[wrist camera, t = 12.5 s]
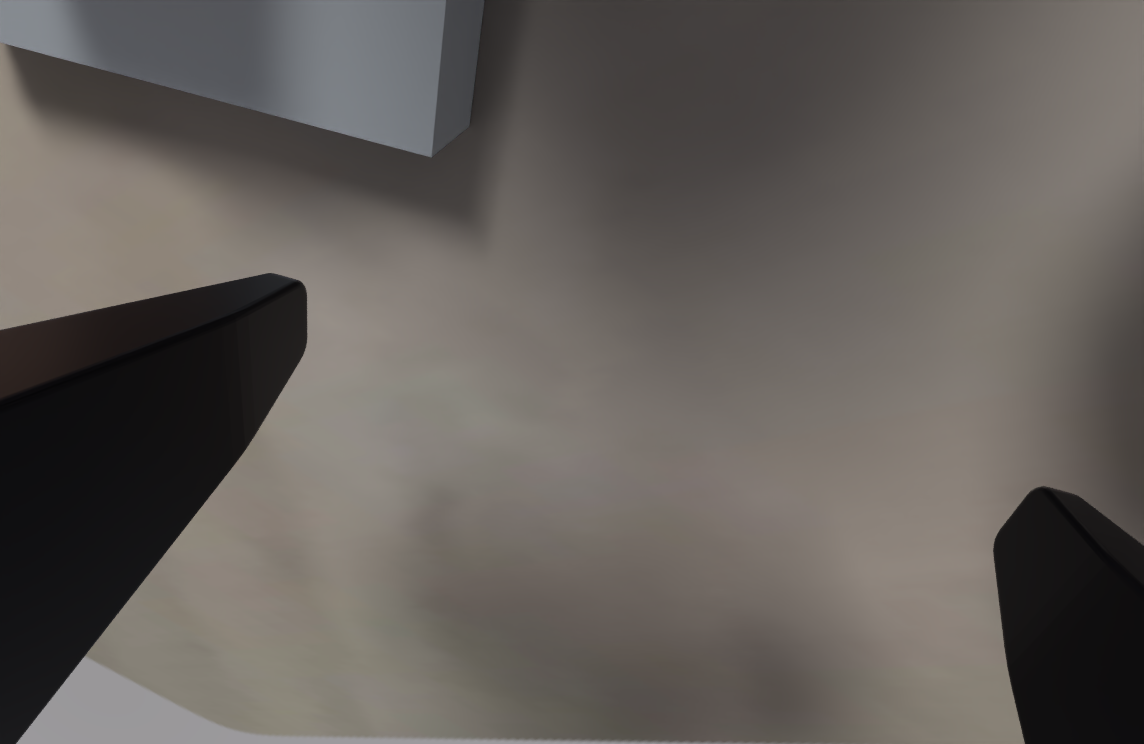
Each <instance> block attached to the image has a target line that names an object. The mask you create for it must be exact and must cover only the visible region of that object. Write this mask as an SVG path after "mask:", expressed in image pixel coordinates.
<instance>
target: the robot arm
mask: <svg viewBox="0 0 1144 744" xmlns="http://www.w3.org/2000/svg"><path fill="white" fill-rule="evenodd" d="M306 344H307V292H306V288H305V286H304V285H303V283H302V282H301V281H299V280H296V279H292V278H289V277H285V276H281V275H278V274H273V273H267V274H262V275H258V276H253V277H248V278H244V279H239V280H234V281H229V282H225V283H220V284H215V285H211V286H206V287H201V288H196V289H192V290H187V291H182V292H178V293H173V294H168V295H163V296H159V297H154V298H149V299H145V300H140V301H135V302H130V303H126V304H121V305H116V306H111V307H107V308H102V309H97V310H93V311H88V312H83V313H78V314H74V315H69V316H64V317H60V318H55V319H50V320H45V321H41V322H36V323H31V324H27V325H22V326H17V327H12V328H8V329H3V330H0V744H16V743H17V742H18V740H19V739H20V738H21V737H22V735H23V734H24V733H25V732H26V730H27V729H28V728H29V726H30V725H31V724H32V723H33V721H34V720H35V719H36V718H37V716H38V715H39V714H40V712H41V711H42V710H43V709H44V707H45V706H46V705H47V703H48V702H49V701H50V700H51V698H52V697H53V696H54V695H55V693H56V692H57V691H58V689H59V688H60V687H61V685H62V684H63V683H64V682H65V680H66V679H67V678H68V677H69V675H70V674H71V673H72V672H73V670H74V669H75V668H76V666H77V665H78V664H79V662H80V661H81V660H82V659H83V657H84V656H85V655H86V654H87V652H88V651H89V650H90V649H91V647H92V646H93V645H94V643H95V642H96V641H97V640H98V638H99V637H100V636H101V635H102V633H103V632H104V631H105V629H106V628H107V627H108V626H109V624H110V623H111V622H112V620H113V619H114V618H115V617H116V615H117V614H118V613H119V612H120V610H121V609H122V608H123V606H124V605H125V604H126V603H127V601H128V600H129V599H130V597H131V596H132V595H133V594H134V592H135V591H136V590H137V589H138V587H139V586H140V585H141V583H142V582H143V581H144V580H145V578H146V577H147V576H148V574H149V573H150V572H151V571H152V569H153V568H154V567H155V566H156V564H157V563H158V562H159V560H160V559H161V558H162V557H163V555H164V554H165V553H166V552H167V550H168V549H169V548H170V546H171V545H172V544H173V543H174V541H175V540H176V539H177V537H178V536H179V535H180V534H181V532H182V531H183V530H184V529H185V527H186V526H187V525H188V523H189V522H190V521H191V520H192V518H193V517H194V516H195V514H196V513H197V512H198V511H199V509H200V508H201V507H202V506H203V504H204V503H205V502H206V500H207V499H208V498H209V497H210V495H211V494H212V493H213V491H214V490H215V489H216V488H217V486H218V485H219V484H220V483H221V481H222V480H223V479H224V477H225V476H226V475H227V474H228V472H229V471H230V470H231V469H232V467H233V466H234V465H235V463H236V462H237V461H238V459H239V458H240V457H241V455H242V454H243V453H244V451H245V450H246V448H247V447H248V445H249V444H250V442H251V441H252V439H253V438H254V436H255V434H256V433H257V431H258V430H259V428H260V426H261V425H262V423H263V421H264V420H265V418H266V416H267V415H268V413H269V411H270V410H271V408H272V406H273V405H274V403H275V401H276V400H277V398H278V396H279V395H280V393H281V391H282V390H283V388H284V387H285V385H286V383H287V382H288V380H289V378H290V377H291V375H292V373H293V372H294V370H295V368H296V367H297V365H298V363H299V362H300V360H301V358H302V356H303V354H304V352H305V348H306ZM993 554H994V563H995V571H996V579H997V588H998V596H999V605H1000V613H1001V621H1002V630H1003V638H1004V647H1005V654H1006V660H1007V667H1008V672H1009V677H1010V682H1011V686H1012V691H1013V695H1014V700H1015V704H1016V708H1017V712H1018V717H1019V721H1020V725H1021V729H1022V734H1023V738H1024V742H1025V744H1144V546H1143V545H1142V544H1141V543H1139V542H1138V541H1137V540H1135V539H1134V538H1133V537H1132V536H1130V535H1129V534H1128V533H1126V532H1125V531H1124V530H1122V529H1121V528H1120V527H1119V526H1117V525H1116V524H1115V523H1113V522H1112V521H1111V520H1109V519H1108V518H1107V517H1105V516H1104V515H1103V514H1102V513H1100V512H1099V511H1098V510H1096V509H1095V508H1094V507H1092V506H1091V505H1090V504H1089V503H1087V502H1086V501H1085V500H1083V499H1082V498H1080V497H1079V496H1077V495H1074V494H1072V493H1068V492H1064V491H1061V490H1057V489H1053V488H1050V487H1045V486H1042V487H1037V488H1035V489H1033V490H1032V491H1030V493H1029V494H1028V495H1027V496H1026V497H1025V498H1024V500H1023V501H1022V502H1021V504H1020V505H1019V506H1018V507H1017V509H1016V510H1015V511H1014V512H1013V514H1012V515H1011V516H1010V518H1009V519H1008V520H1007V521H1006V523H1005V524H1004V525H1003V527H1002V528H1001V529H1000V530H999V532H998V534H997V536H996V538H995V542H994V548H993Z"/></svg>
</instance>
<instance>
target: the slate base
mask: <svg viewBox="0 0 1144 744" xmlns="http://www.w3.org/2000/svg"><path fill="white" fill-rule="evenodd" d="M484 1H485V0H0V42H1V43H4V44H8V45H12V46H16V47H19V48H23V49H27V50H31V51H34V52H38V53H42V54H46V55H49V56H53V57H57V58H61V59H64V60H68V61H72V62H76V63H79V64H83V65H87V66H91V67H94V68H98V69H102V70H106V71H109V72H113V73H117V74H121V75H124V76H128V77H132V78H136V79H139V80H143V81H147V82H151V83H154V84H158V85H162V86H166V87H169V88H173V89H177V90H181V91H184V92H188V93H192V94H195V95H199V96H203V97H207V98H210V99H214V100H218V101H222V102H225V103H229V104H233V105H237V106H240V107H244V108H248V109H252V110H255V111H259V112H263V113H267V114H270V115H274V116H278V117H282V118H285V119H289V120H293V121H297V122H300V123H304V124H308V125H312V126H315V127H319V128H323V129H327V130H330V131H334V132H338V133H342V134H345V135H349V136H353V137H357V138H360V139H364V140H368V141H372V142H375V143H379V144H383V145H387V146H390V147H394V148H398V149H402V150H405V151H409V152H413V153H417V154H420V155H424V156H428V157H433V156H434V155H435V154H436V153H438V152H439V151H440V150H441V149H442V148H444V147H445V146H446V145H447V144H449V143H450V142H451V141H452V140H453V139H455V138H456V137H457V136H458V135H460V134H461V133H462V132H463V131H464V130H466V129H467V128H468V127H469V126H470V117H471V109H472V101H473V93H474V84H475V76H476V68H477V59H478V51H479V43H480V35H481V26H482V18H483V10H484Z"/></svg>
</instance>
